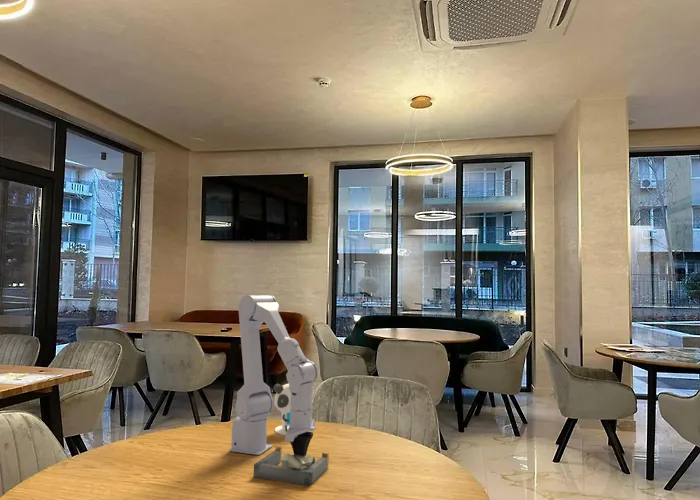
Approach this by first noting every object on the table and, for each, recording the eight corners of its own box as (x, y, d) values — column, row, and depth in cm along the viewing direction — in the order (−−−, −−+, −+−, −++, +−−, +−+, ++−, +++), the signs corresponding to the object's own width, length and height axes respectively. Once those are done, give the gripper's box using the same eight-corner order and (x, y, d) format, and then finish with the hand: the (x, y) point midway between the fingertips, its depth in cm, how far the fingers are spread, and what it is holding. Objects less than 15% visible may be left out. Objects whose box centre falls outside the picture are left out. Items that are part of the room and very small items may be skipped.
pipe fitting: (308, 480, 118) (315, 468, 125) (308, 464, 118) (315, 453, 125) (277, 477, 119) (285, 465, 126) (277, 462, 119) (285, 450, 126)
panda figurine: (278, 437, 150) (279, 388, 151) (268, 427, 160) (270, 381, 161) (314, 433, 155) (315, 385, 156) (303, 423, 165) (304, 379, 166)
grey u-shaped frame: (253, 477, 119) (254, 461, 119) (276, 460, 130) (276, 445, 130) (309, 485, 114) (310, 469, 114) (328, 467, 125) (328, 452, 126)
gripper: (304, 417, 120) (302, 473, 118) (325, 403, 133) (324, 454, 132) (278, 414, 122) (276, 470, 121) (301, 401, 135) (300, 451, 134)
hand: (299, 461), depth 127 cm, fingers closed
